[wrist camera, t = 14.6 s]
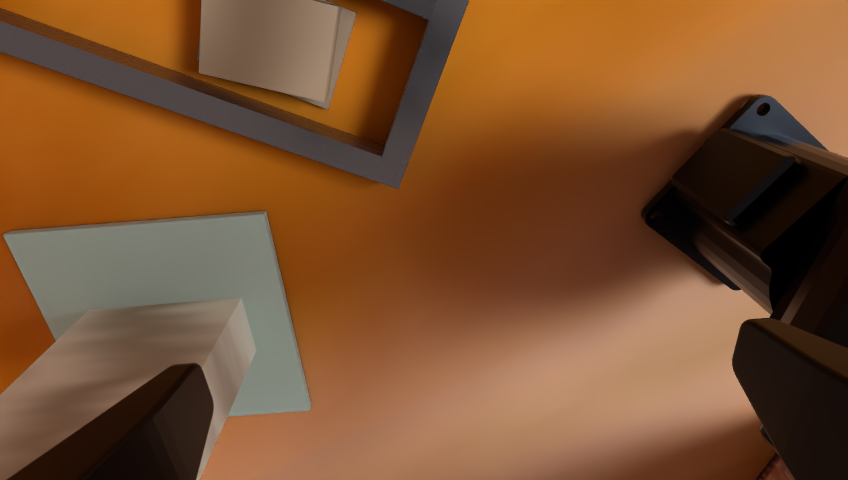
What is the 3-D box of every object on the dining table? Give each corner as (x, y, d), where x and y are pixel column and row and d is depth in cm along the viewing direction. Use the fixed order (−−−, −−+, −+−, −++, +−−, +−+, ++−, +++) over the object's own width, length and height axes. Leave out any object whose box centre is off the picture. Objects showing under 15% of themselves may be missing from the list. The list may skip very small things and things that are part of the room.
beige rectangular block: (241, 297, 22) (127, 498, 13) (256, 350, 24) (161, 566, 15) (88, 310, 22) (-129, 518, 13) (111, 362, 24) (-72, 583, 15)
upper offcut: (341, 6, 17) (337, 6, 16) (328, 97, 19) (323, 102, 18) (213, -27, 17) (202, -28, 16) (209, 69, 18) (198, 73, 17)
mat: (265, 210, 21) (263, 214, 20) (311, 404, 26) (309, 410, 25) (9, 231, 21) (2, 234, 21) (102, 420, 26) (98, 426, 25)
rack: (464, 0, 18) (468, 1, 16) (399, 176, 20) (398, 189, 19) (-103, -242, 14) (-156, -267, 13) (-88, 6, 17) (-130, 6, 16)
